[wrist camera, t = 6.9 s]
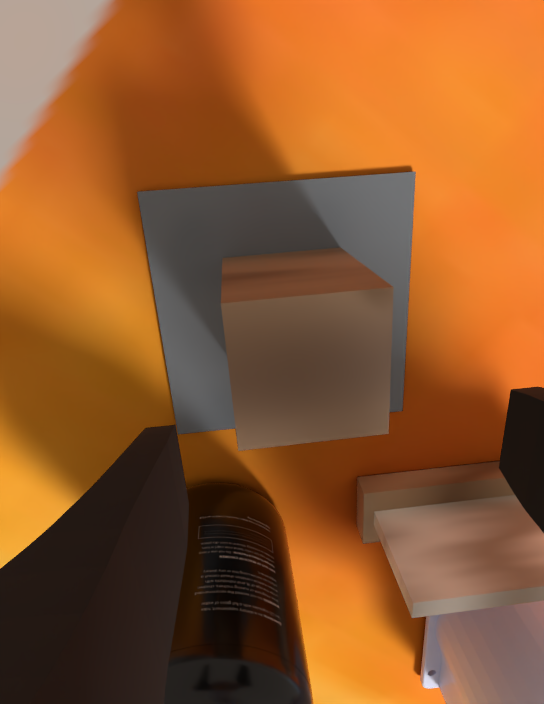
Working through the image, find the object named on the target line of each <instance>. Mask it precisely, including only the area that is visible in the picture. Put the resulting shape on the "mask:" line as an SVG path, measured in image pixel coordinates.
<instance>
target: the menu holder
mask: <svg viewBox="0 0 544 704" xmlns="http://www.w3.org/2000/svg"><path fill="white" fill-rule="evenodd" d="M499 463H500V461H495V462H486V463H477V464H468V465H459V466H451V467H442V468H433V469H424V470H415V471H406V472H398V473H389V474H380V475H371V476H362V477H357V528H358V531H359V534H360V536H361V539H362V542H363V544H365V543H373V542H381V544H382V546H383V548H384V551H385V553H386V556H387V558H388V561H389V563H390V566H391V568H392V571H393V573H394V575H395V578H396V580H397V583H398V585H399V588H400V590H401V593H402V595H403V597H404V600H405V602H406V605H407V607H408V610H409V612H410V615H411V617H412V618H417V617H425V616H433V615H440V614H448V613H455V612H463V611H470V610H478V609H485V608H493V607H500V606H508V605H515V604H523V603H530V602H538V601H544V533H543V532H542V531H541V529H540V528H539V527H538V526H537V524H536V523H535V522H534V521H533V519H532V518H531V517H530V516H529V514H528V513H527V512H526V511H525V509H524V508H523V506H522V505H521V503H520V502H519V500H518V499H517V497H516V496H515V494H514V493H513V491H512V489H511V488H510V486H509V484H508V483H507V481H506V479H505V478H504V476H503V474H502V472H501V471H500V469H499Z"/></svg>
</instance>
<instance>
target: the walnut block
mask: <svg viewBox="0 0 544 704" xmlns="http://www.w3.org/2000/svg"><path fill="white" fill-rule="evenodd" d="M393 290H394V287H393V286H391V285H390V284H389V283H387V282H386V281H385V280H383V279H382V278H381V277H379V276H378V275H377V274H375V273H374V272H373V271H371V270H370V269H369V268H367V267H366V266H365V265H363V264H362V263H361V262H359V261H358V260H357V259H355V258H354V257H353V256H351V255H350V254H349V253H347V252H346V251H345V250H343V249H342V248H341V247H340V248H329V249H318V250H306V251H295V252H284V253H273V254H261V255H250V256H239V257H228V258H222V285H221V309H222V317H223V326H224V334H225V343H226V351H227V360H228V368H229V376H230V385H231V393H232V402H233V410H234V418H235V427H236V435H237V444H238V451H242V450H251V449H260V448H268V447H277V446H286V445H295V444H303V443H312V442H321V441H330V440H339V439H347V438H356V437H365V436H374V435H383V434H389V409H390V379H391V349H392V320H393Z"/></svg>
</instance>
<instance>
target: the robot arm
mask: <svg viewBox="0 0 544 704" xmlns="http://www.w3.org/2000/svg"><path fill="white" fill-rule="evenodd" d="M499 469H500V471H501V472H502V474H503V476H504V478H505V479H506V481H507V483H508V484H509V486H510V488H511V489H512V491H513V493H514V494H515V496H516V497H517V499H518V500H519V502H520V503H521V505H522V506H523V508H524V509H525V511H526V512H527V513H528V514H529V516H530V517H531V518H532V519H533V521H534V522H535V523H536V524H537V526H538V527H539V528H540V529H541V531H542V532H543V533H544V388H542V387H531V388H522V389H512V390H511V392H510V399H509V405H508V412H507V418H506V425H505V431H504V438H503V444H502V450H501V457H500V463H499ZM188 516H189V501H188V495H187V489H186V484H185V478H184V472H183V466H182V460H181V455H180V449H179V443H178V437H177V431H176V426H175V425H169V426H160V427H150V428H145V429H144V430H143V431H142V432H141V434H140V435H139V436H138V437H137V438H136V439H135V440H134V441H133V442H132V443H131V445H130V446H129V447H128V448H127V449H126V450H125V451H124V452H123V453H122V455H121V456H120V457H119V458H118V459H117V460H116V461H115V462H114V463H113V465H112V466H111V467H110V468H109V469H108V470H107V471H106V472H105V473H104V474H103V475H102V476H101V477H100V479H99V480H98V481H97V482H96V483H95V484H94V485H93V486H92V487H91V488H90V489H89V490H88V491H87V492H86V493H85V494H84V495H83V496H82V497H81V498H80V499H79V500H78V501H77V502H76V503H75V504H74V505H72V506H71V507H70V508H69V509H68V510H67V511H66V512H65V513H64V514H63V515H62V516H61V517H60V518H59V519H58V520H57V521H56V522H55V523H54V524H53V525H52V526H51V527H49V528H48V529H47V530H46V531H45V532H44V533H43V534H42V535H41V536H39V537H38V538H37V539H36V540H35V541H34V542H32V543H31V544H30V545H29V546H28V547H27V548H25V549H24V550H23V551H22V552H20V553H19V554H18V555H17V556H16V557H14V558H13V559H12V560H11V561H9V562H8V563H7V564H6V565H4V566H3V567H2V568H1V569H0V704H164V698H165V687H166V679H167V671H168V663H169V657H170V651H171V645H172V639H173V633H174V627H175V620H176V614H177V608H178V602H179V596H180V590H181V584H182V578H183V572H184V565H185V559H186V552H187V540H188ZM420 680H421V683H422V686H423V687H424V688H437V687H440V690H441V692H442V695H443V697H444V700H445V702H446V704H544V601H538V602H530V603H523V604H515V605H508V606H500V607H493V608H485V609H478V610H470V611H463V612H455V613H448V614H440V615H433V616H426V625H425V636H424V646H423V656H422V666H421V677H420Z"/></svg>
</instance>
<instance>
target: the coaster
mask: <svg viewBox="0 0 544 704" xmlns="http://www.w3.org/2000/svg"><path fill="white" fill-rule="evenodd" d="M415 173H416V172H401V173H387V174H374V175H360V176H346V177H332V178H318V179H304V180H290V181H277V182H263V183H249V184H235V185H221V186H207V187H193V188H179V189H166V190H152V191H138V192H137V194H138V200H139V206H140V212H141V217H142V223H143V229H144V235H145V241H146V247H147V253H148V259H149V265H150V271H151V277H152V283H153V289H154V295H155V301H156V306H157V312H158V318H159V324H160V330H161V336H162V342H163V348H164V354H165V360H166V366H167V372H168V378H169V384H170V389H171V395H172V401H173V407H174V413H175V419H176V425H177V431H178V434H187V433H196V432H206V431H215V430H225V429H234V428H236V427H235V418H234V410H233V402H232V393H231V385H230V376H229V368H228V360H227V351H226V343H225V334H224V326H223V317H222V309H221V285H222V258H228V257H239V256H250V255H261V254H273V253H284V252H295V251H306V250H318V249H329V248H340V247H341V248H342V249H343V250H345V251H346V252H347V253H349V254H350V255H351V256H353V257H354V258H355V259H357V260H358V261H359V262H361V263H362V264H363V265H365V266H366V267H367V268H369V269H370V270H371V271H373V272H374V273H375V274H377V275H378V276H379V277H381V278H382V279H383V280H385V281H386V282H387V283H389V284H390V285H391V286H393V287H394V290H393V320H392V349H391V379H390V409H389V412H397V411H403V393H404V375H405V356H406V338H407V320H408V301H409V283H410V264H411V246H412V228H413V209H414V191H415Z"/></svg>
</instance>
